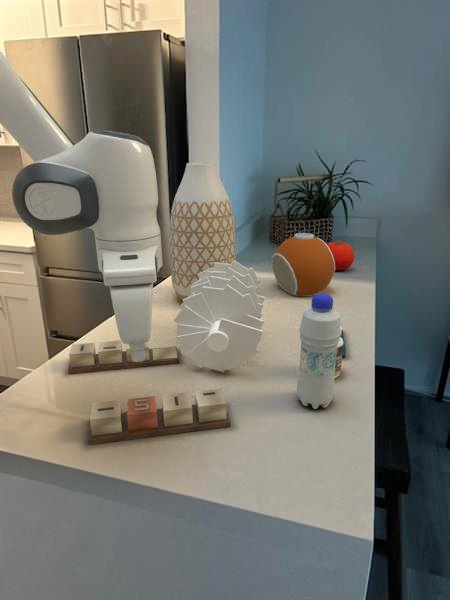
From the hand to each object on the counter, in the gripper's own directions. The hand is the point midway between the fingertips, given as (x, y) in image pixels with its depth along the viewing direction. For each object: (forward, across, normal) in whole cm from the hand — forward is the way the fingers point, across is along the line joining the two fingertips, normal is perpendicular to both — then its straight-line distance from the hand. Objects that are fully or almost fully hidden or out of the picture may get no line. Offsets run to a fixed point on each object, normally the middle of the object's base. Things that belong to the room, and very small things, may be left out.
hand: (138, 344), depth 65 cm
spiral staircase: (+15, -24, +17) cm, 33 cm away
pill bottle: (+15, -10, +35) cm, 40 cm away
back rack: (+14, -23, -4) cm, 27 cm away
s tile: (+14, 0, 0) cm, 14 cm away
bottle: (+15, -1, +29) cm, 33 cm away
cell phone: (+15, -22, +41) cm, 49 cm away
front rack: (+14, 0, +2) cm, 15 cm away
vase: (+15, -58, +18) cm, 63 cm away
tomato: (+15, -79, +69) cm, 106 cm away
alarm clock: (+15, -60, +49) cm, 79 cm away
